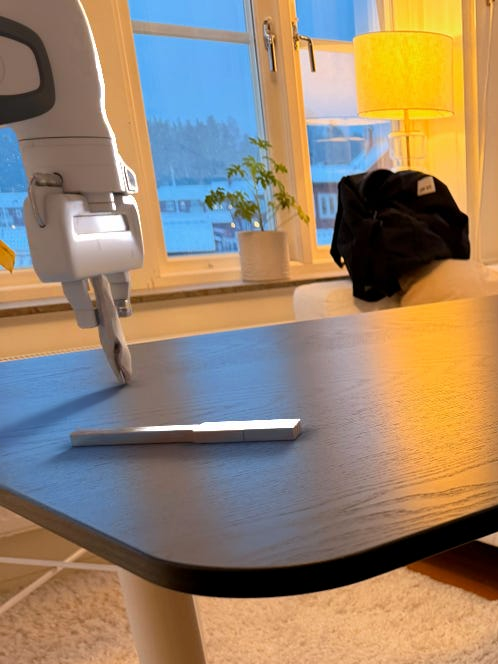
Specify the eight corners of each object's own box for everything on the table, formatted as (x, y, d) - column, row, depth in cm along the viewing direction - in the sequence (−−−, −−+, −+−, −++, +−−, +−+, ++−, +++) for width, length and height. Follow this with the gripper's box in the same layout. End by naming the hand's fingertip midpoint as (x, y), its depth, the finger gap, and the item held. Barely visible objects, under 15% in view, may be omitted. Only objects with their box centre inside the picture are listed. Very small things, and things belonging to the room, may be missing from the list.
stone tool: (143, 388, 93) (111, 232, 86) (111, 392, 91) (76, 233, 85) (128, 377, 100) (98, 232, 93) (99, 380, 99) (65, 233, 92)
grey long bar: (68, 448, 70) (64, 436, 69) (83, 439, 72) (80, 427, 72) (294, 440, 69) (293, 427, 69) (302, 431, 72) (300, 418, 71)
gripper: (60, 169, 78) (97, 334, 84) (141, 175, 96) (167, 310, 102) (-10, 173, 78) (32, 337, 84) (84, 178, 96) (113, 313, 102)
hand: (107, 322), depth 93 cm, fingers open, 8 cm apart
